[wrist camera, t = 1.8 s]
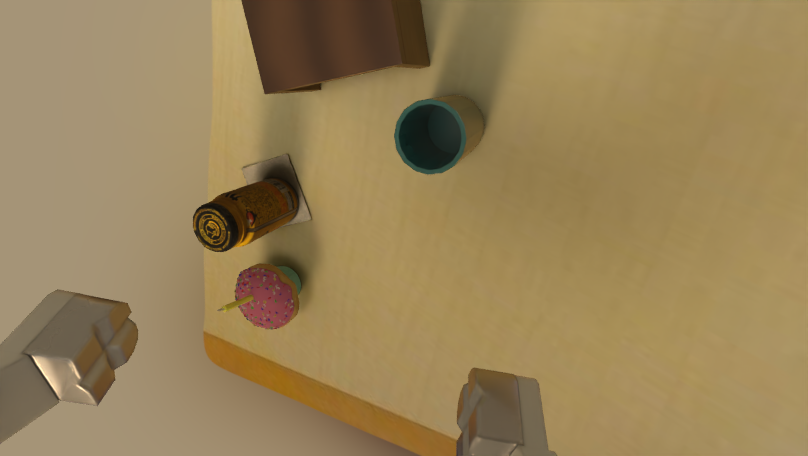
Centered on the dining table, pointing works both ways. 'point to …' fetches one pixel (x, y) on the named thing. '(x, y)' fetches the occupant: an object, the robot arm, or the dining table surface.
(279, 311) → the cupcake
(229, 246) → the condiment
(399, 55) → the shelf
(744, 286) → the dining table surface
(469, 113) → the cup
